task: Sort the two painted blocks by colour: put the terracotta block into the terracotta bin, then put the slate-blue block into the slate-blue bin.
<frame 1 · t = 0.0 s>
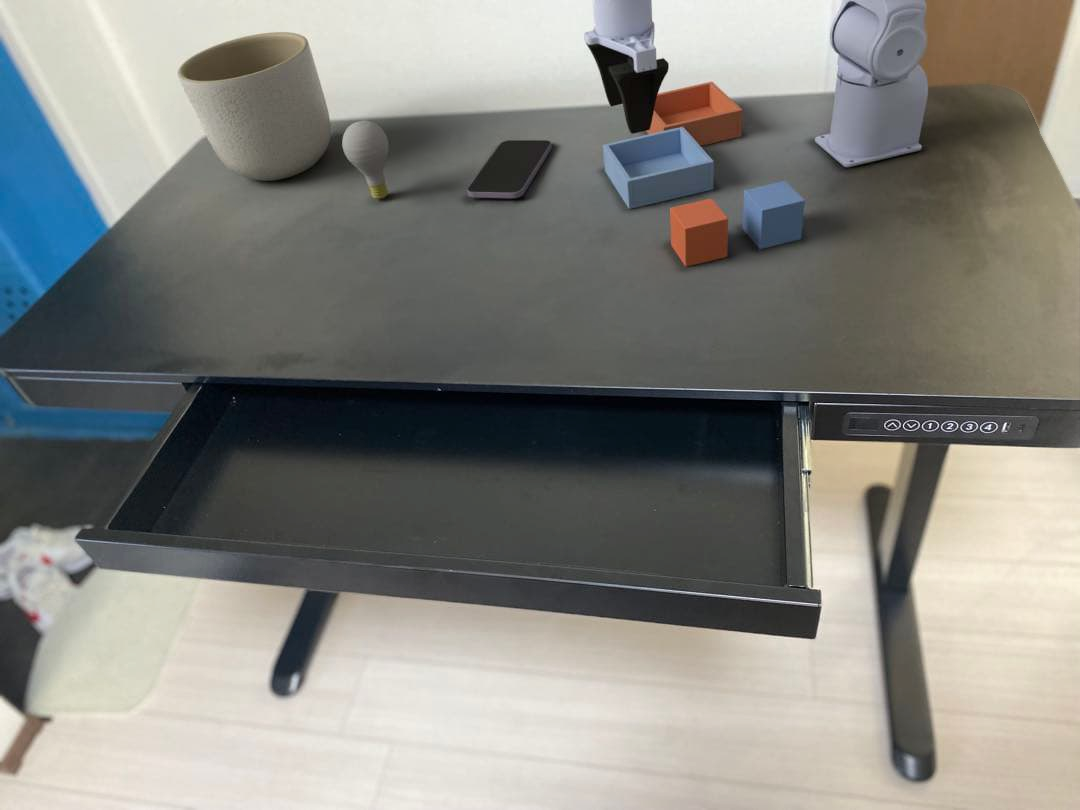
hand: (629, 116, 85), 10 cm above the table, tool pointing down, fingers open, 7 cm apart
smartphone: (512, 173, 102), on the table
slate-blue block: (771, 233, 83), on the table
planter: (284, 165, 113), on the table
terracotta bin: (689, 129, 103), on the table
slate-blue bin: (657, 180, 95), on the table
terracotta block: (698, 251, 83), on the table
light bulb: (381, 199, 101), on the table
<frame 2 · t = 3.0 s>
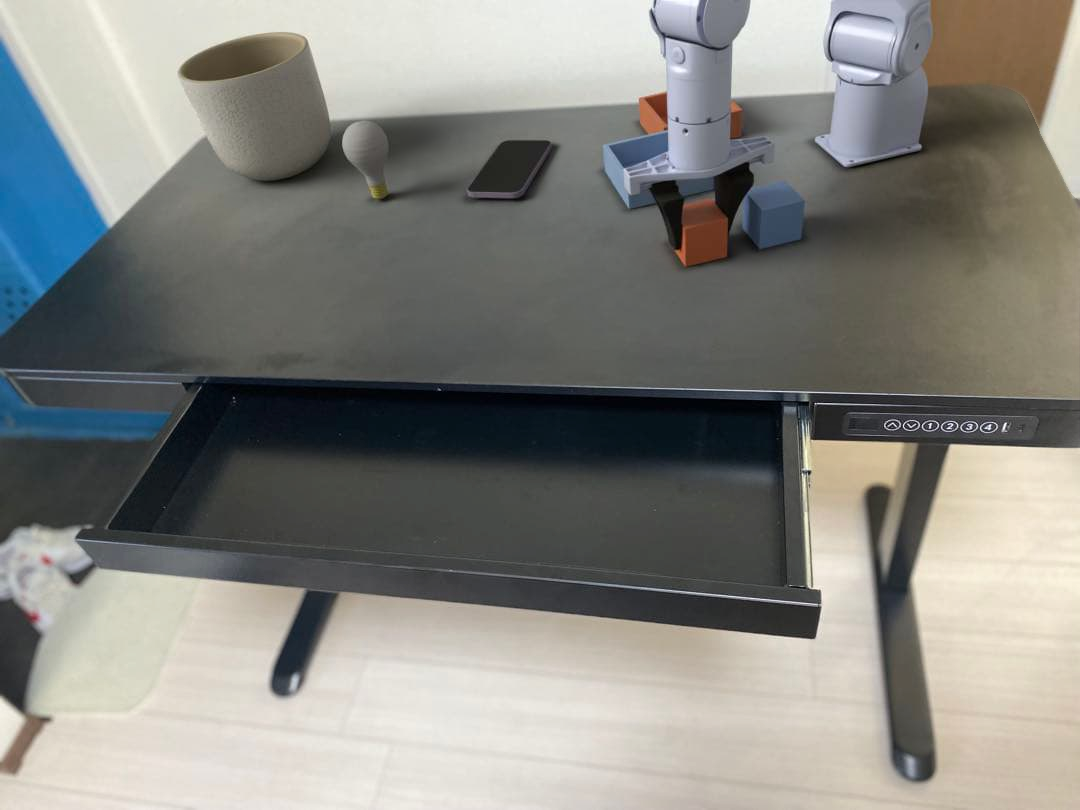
hand: (698, 239, 82), 1 cm above the table, tool pointing down, fingers closed on terracotta block, 4 cm apart
terracotta block: (698, 251, 83), on the table, touching gripper
everything else where it was.
when the fingers open (2 cm above the table, at t = 8.0 s): terracotta block stays where it is, resting on terracotta bin.
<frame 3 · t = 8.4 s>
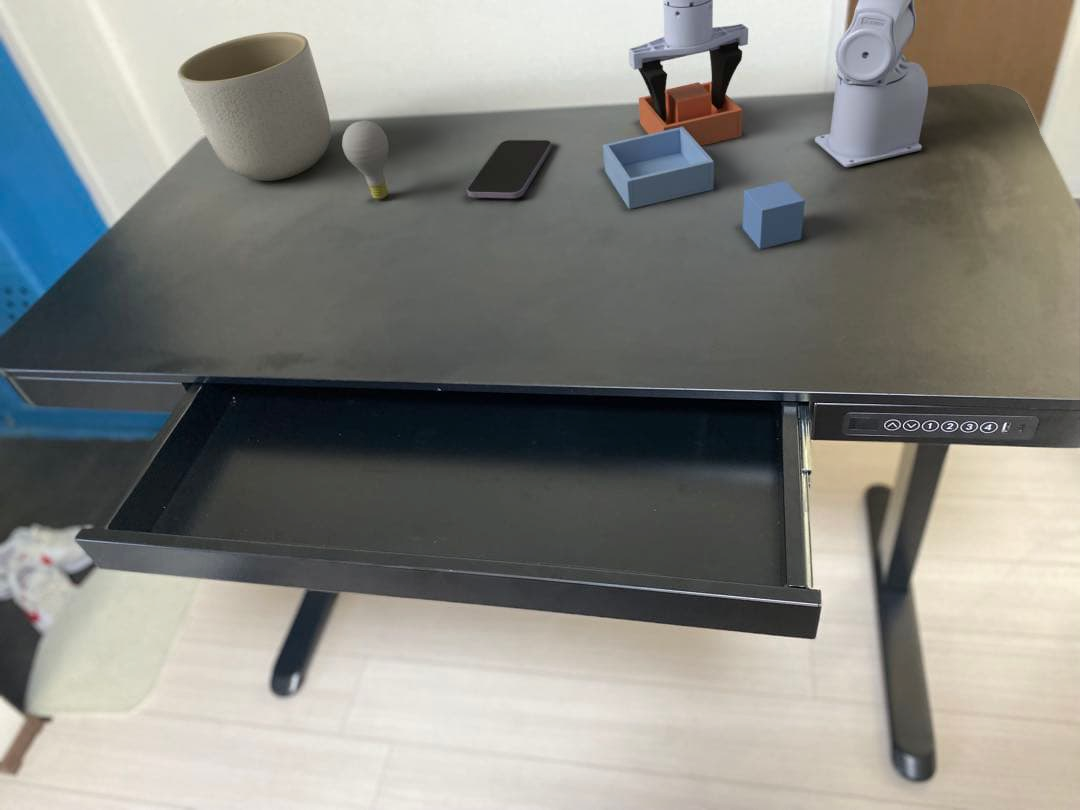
hand: (688, 112, 102), 2 cm above the table, tool pointing down, fingers open, 7 cm apart
terracotta block: (688, 126, 103), resting on terracotta bin
everything else where it was.
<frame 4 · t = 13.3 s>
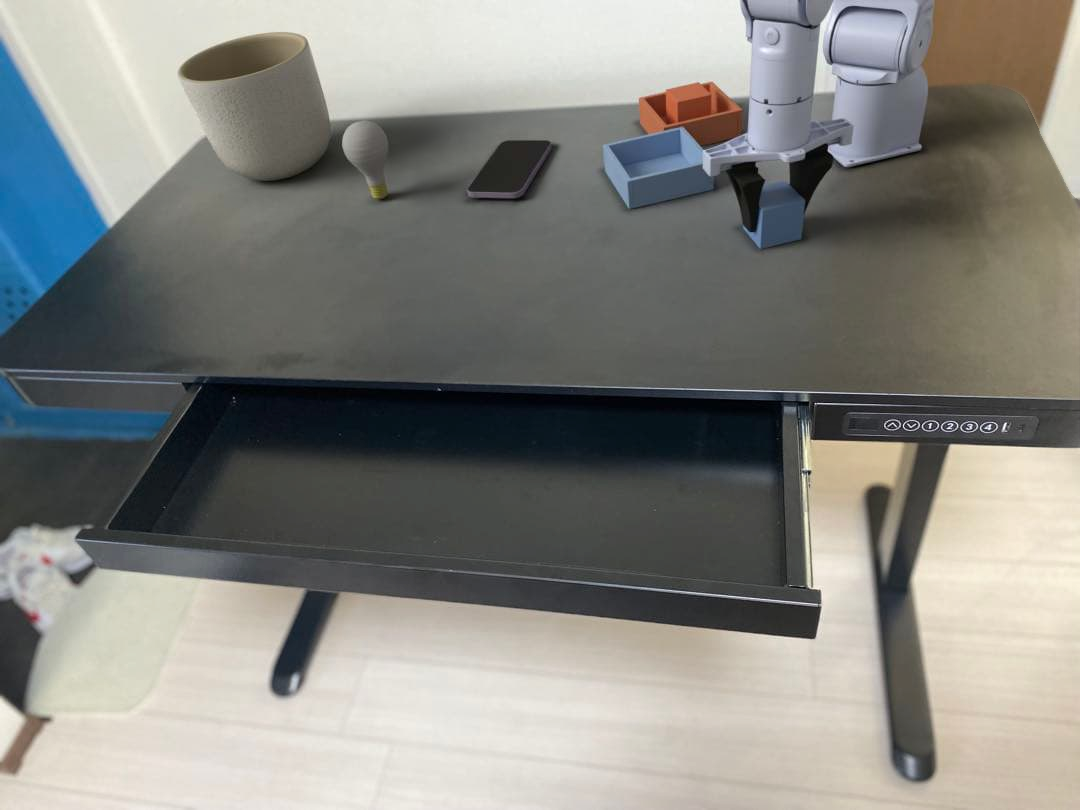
hand: (772, 222, 82), 1 cm above the table, tool pointing down, fingers closed on slate-blue block, 4 cm apart
slate-blue block: (771, 233, 83), on the table, touching gripper
everything else where it was.
when the fingers open (2 cm above the table, at t = 17.4 s): slate-blue block stays where it is, resting on slate-blue bin.
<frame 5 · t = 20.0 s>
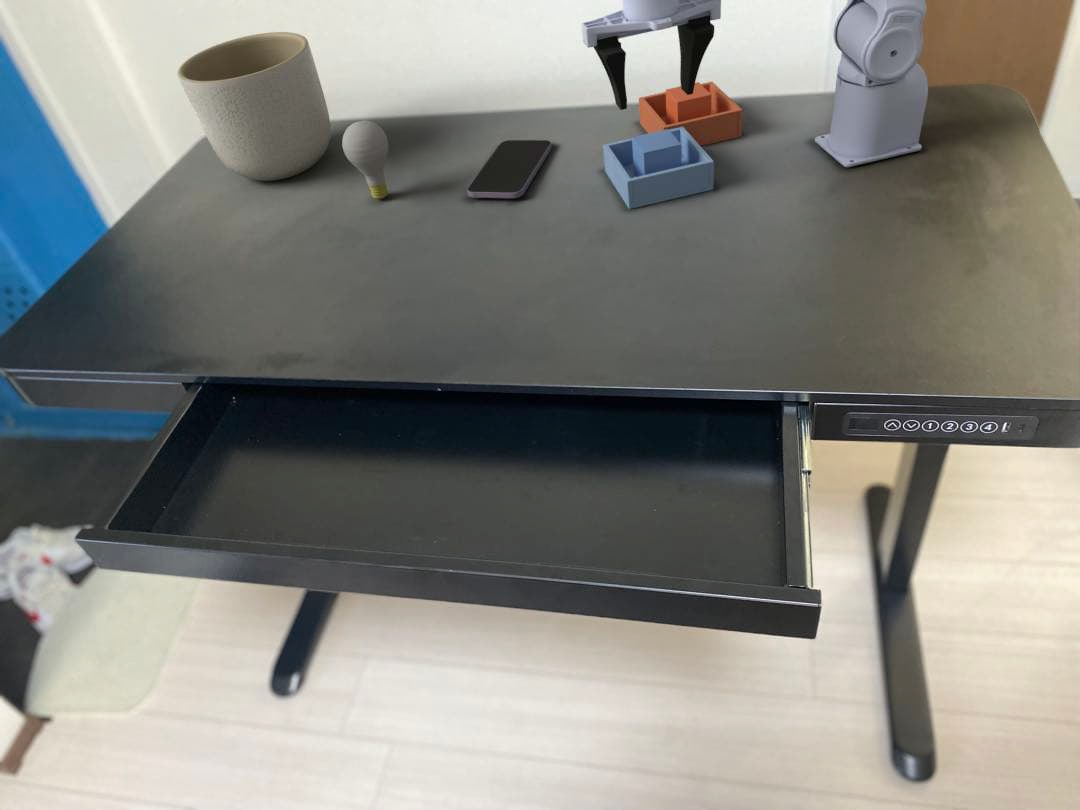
hand: (654, 98, 88), 10 cm above the table, tool pointing down, fingers open, 7 cm apart
slate-blue block: (657, 176, 95), resting on slate-blue bin
everything else where it was.
at the end: terracotta block inside the target area in the terracotta bin (0.1 cm from its centre), point 0.5 cm above the terracotta bin's base; slate-blue block inside the target area in the slate-blue bin (0.0 cm from its centre), point 0.5 cm above the slate-blue bin's base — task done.
